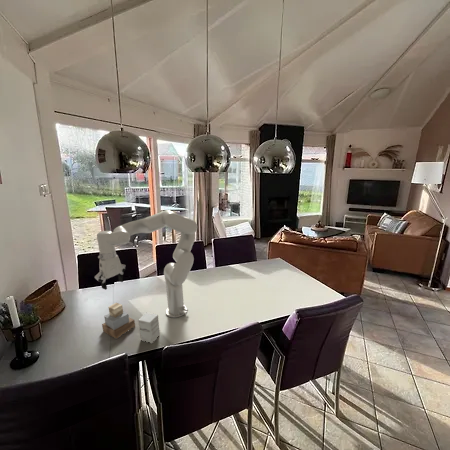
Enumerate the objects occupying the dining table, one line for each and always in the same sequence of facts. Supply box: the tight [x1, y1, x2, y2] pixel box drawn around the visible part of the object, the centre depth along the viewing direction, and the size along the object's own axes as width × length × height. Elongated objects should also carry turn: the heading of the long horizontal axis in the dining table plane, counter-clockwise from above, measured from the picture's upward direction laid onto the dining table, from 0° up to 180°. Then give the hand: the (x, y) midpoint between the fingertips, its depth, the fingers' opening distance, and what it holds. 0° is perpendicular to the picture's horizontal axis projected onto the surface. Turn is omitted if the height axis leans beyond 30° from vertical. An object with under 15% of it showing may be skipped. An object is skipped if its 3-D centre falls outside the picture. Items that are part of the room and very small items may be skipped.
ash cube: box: [108, 302, 124, 318], centre depth 141 cm, size 5×5×5 cm
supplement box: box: [137, 312, 161, 344], centre depth 134 cm, size 7×7×13 cm
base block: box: [101, 317, 136, 339], centre depth 143 cm, size 12×12×5 cm
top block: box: [104, 310, 130, 330], centre depth 141 cm, size 9×9×5 cm
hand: (113, 285), depth 137 cm, fingers open, 9 cm apart
